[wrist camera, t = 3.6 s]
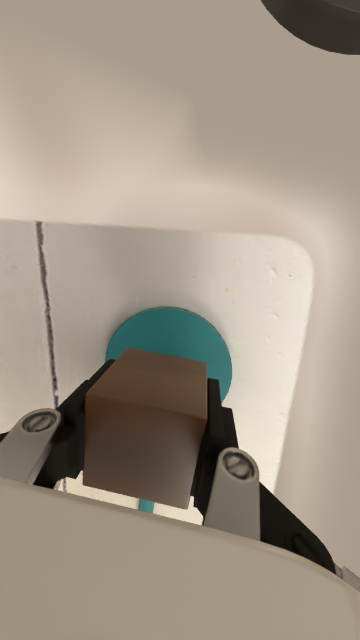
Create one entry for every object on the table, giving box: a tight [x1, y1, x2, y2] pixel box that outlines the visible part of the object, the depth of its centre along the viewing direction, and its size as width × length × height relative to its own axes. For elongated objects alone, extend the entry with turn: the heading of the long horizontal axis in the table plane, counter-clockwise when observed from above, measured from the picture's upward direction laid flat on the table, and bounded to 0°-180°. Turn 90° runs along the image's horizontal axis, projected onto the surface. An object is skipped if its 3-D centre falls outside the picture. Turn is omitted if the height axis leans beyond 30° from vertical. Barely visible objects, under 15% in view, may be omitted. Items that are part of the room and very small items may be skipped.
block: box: [83, 348, 207, 510], centre depth 10 cm, size 4×4×4 cm
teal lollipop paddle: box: [105, 307, 232, 514], centre depth 17 cm, size 21×9×1 cm, turn 171°
